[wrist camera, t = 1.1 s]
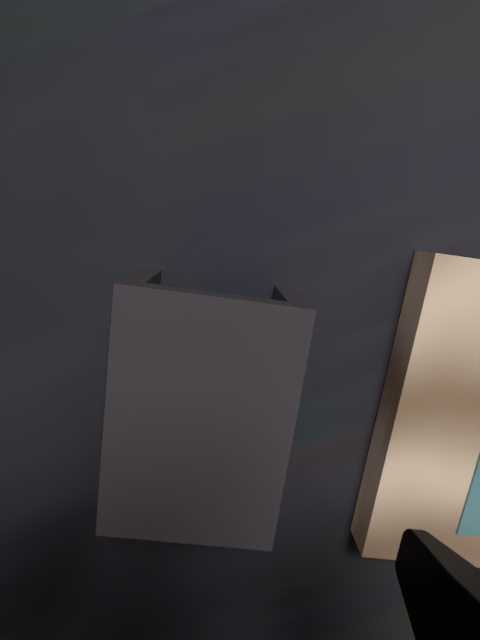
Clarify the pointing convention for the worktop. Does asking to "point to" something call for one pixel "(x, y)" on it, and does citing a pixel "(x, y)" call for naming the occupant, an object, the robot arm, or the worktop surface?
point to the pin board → (428, 418)
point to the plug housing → (199, 412)
